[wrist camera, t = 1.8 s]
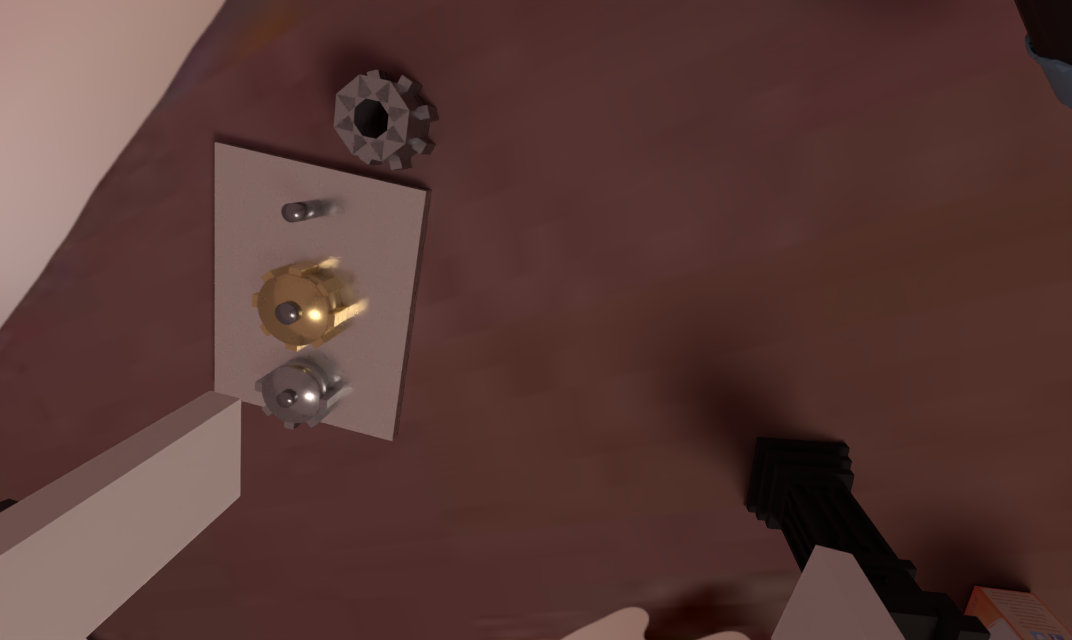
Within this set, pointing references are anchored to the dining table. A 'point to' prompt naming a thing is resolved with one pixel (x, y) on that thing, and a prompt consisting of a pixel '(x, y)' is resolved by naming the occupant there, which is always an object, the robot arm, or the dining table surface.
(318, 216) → the carrier
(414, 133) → the gear
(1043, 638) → the cracker box
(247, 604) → the dining table surface
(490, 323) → the dining table surface
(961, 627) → the chess piece
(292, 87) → the dining table surface
